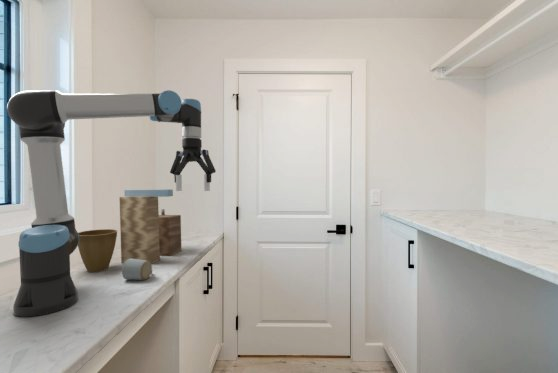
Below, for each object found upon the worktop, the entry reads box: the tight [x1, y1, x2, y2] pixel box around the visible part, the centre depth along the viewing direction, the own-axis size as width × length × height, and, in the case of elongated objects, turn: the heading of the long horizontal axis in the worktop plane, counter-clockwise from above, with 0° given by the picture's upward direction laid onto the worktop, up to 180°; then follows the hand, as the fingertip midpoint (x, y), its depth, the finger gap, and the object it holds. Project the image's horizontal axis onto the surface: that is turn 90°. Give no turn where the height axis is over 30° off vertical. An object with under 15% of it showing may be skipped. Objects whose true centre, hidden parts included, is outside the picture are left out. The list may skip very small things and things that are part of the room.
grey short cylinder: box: [121, 258, 153, 281], centre depth 113 cm, size 11×8×8 cm
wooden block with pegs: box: [159, 208, 182, 257], centre depth 151 cm, size 16×11×22 cm, turn 77°
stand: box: [119, 196, 161, 265], centre depth 135 cm, size 14×8×30 cm, turn 77°
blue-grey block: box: [124, 188, 174, 198], centre depth 134 cm, size 22×4×3 cm, turn 77°
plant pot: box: [77, 228, 118, 273], centre depth 124 cm, size 15×15×16 cm
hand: (192, 191), depth 120 cm, fingers open, 13 cm apart
